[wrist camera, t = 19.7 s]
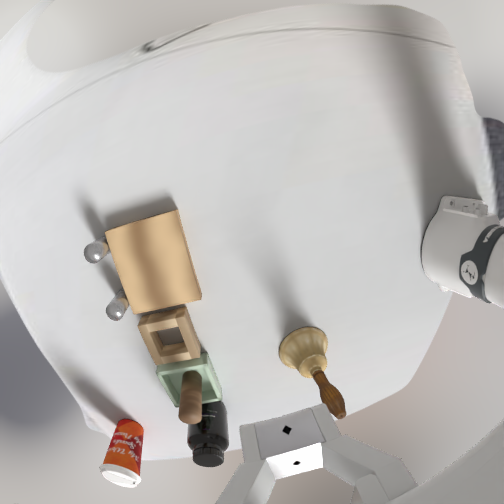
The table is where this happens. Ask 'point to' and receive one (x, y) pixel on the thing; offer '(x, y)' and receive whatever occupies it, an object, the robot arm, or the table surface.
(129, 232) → the curved tan panel
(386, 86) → the table surface
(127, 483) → the paper cup
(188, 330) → the socket block
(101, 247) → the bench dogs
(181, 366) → the tray
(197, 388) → the dowel
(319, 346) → the hand bell
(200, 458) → the supplement bottle
